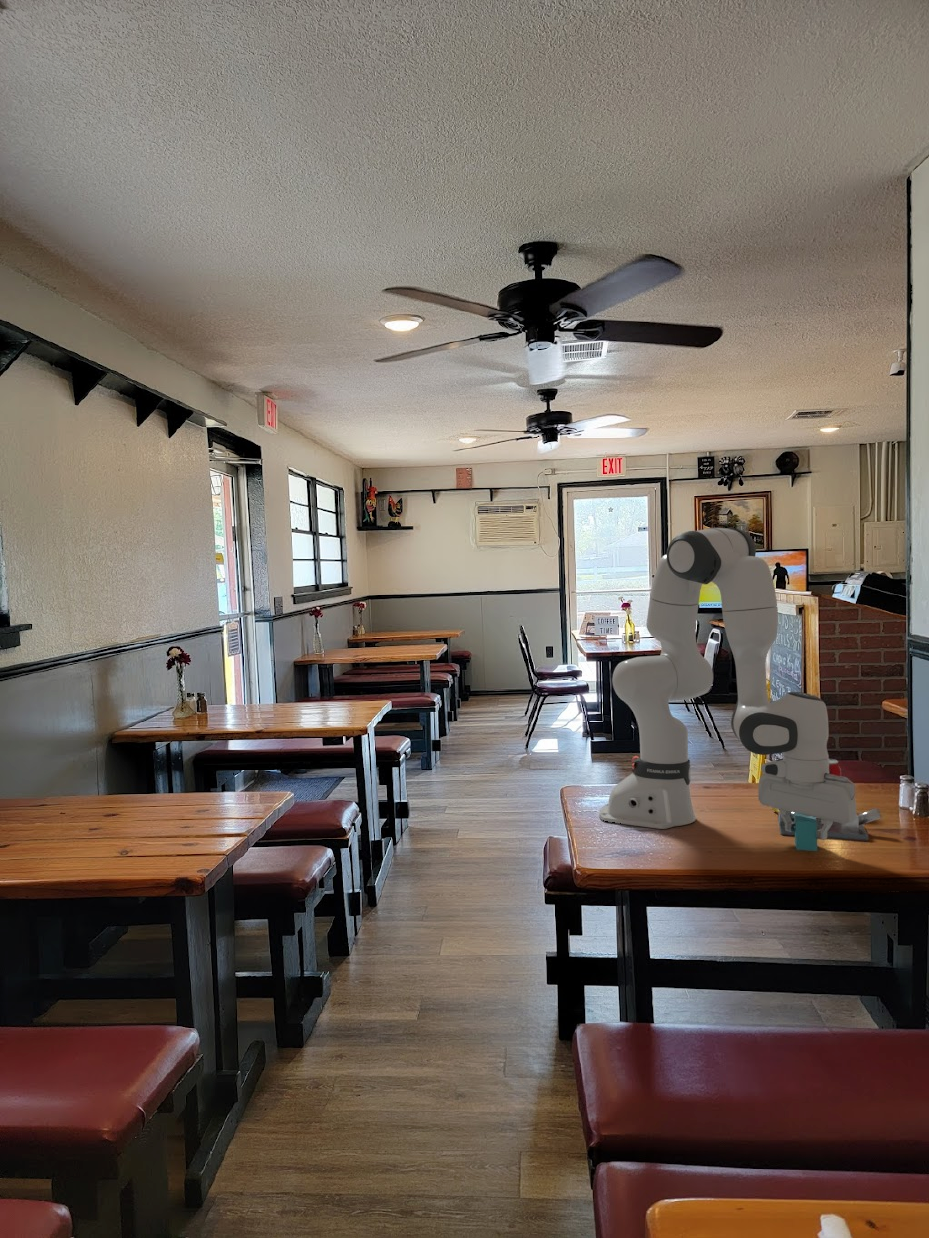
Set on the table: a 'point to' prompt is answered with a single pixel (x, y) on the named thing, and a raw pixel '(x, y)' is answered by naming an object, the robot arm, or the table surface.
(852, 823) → the shaft frame
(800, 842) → the block
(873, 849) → the table surface
